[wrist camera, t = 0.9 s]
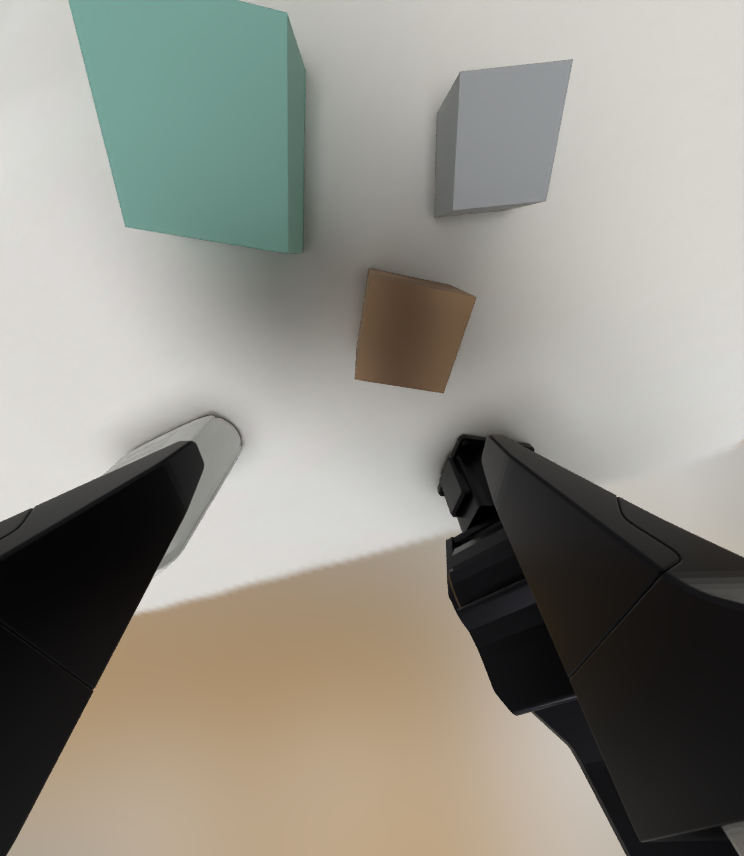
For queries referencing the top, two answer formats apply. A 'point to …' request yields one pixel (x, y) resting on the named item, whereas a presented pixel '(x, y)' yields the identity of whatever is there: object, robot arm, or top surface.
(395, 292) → the walnut cube
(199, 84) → the teal base block
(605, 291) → the top surface
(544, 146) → the slate block
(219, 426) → the photo printer
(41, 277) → the top surface
